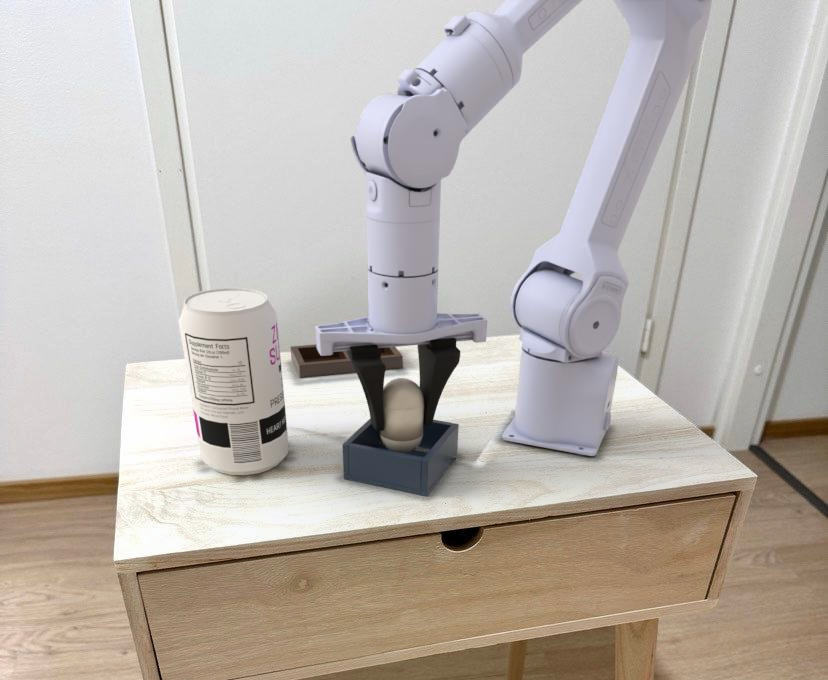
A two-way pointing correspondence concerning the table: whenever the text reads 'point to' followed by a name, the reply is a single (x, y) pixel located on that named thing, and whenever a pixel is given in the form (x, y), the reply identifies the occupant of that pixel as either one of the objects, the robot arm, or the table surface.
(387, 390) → the cream capsule
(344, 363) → the tray
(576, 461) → the table surface
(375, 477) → the bin
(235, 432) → the supplement can
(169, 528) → the table surface
